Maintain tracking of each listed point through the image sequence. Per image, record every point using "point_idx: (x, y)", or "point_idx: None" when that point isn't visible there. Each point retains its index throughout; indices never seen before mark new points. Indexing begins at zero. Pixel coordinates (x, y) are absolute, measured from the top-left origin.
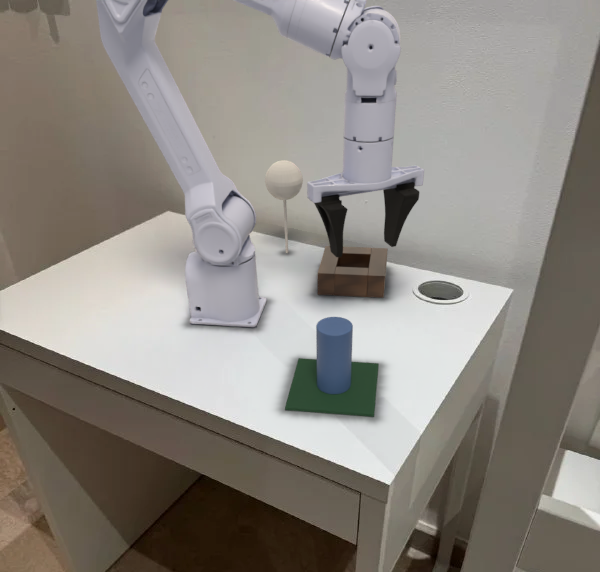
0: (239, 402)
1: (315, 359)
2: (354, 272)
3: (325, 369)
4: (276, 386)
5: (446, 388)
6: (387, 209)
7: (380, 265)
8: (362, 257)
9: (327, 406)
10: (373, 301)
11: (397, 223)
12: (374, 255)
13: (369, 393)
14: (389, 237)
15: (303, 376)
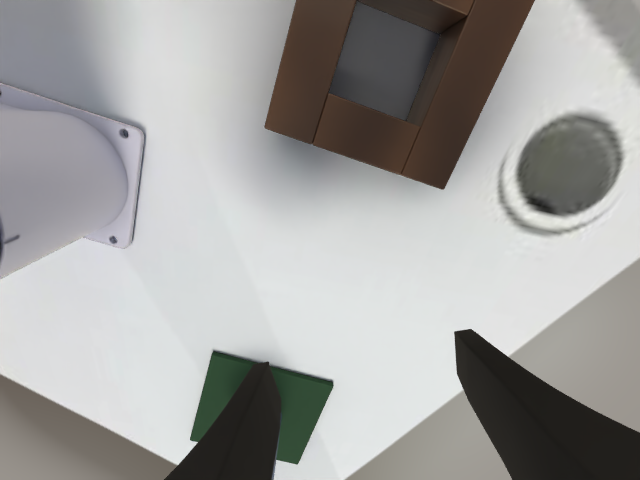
0: (130, 415)
1: (238, 362)
2: (370, 148)
3: None
4: (179, 396)
5: (405, 433)
6: (530, 435)
7: (461, 118)
8: (437, 10)
9: None
10: (396, 187)
11: (509, 471)
12: (475, 31)
13: (301, 436)
14: (467, 377)
15: (216, 394)
